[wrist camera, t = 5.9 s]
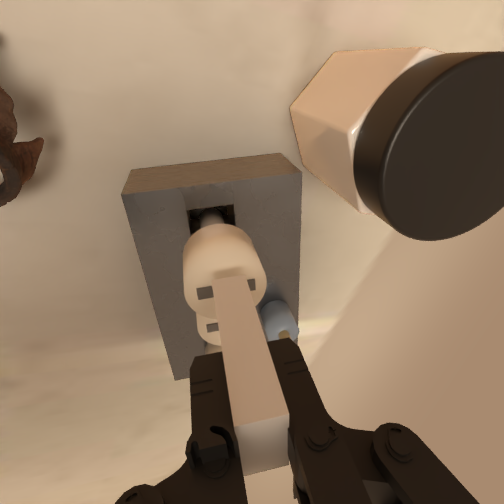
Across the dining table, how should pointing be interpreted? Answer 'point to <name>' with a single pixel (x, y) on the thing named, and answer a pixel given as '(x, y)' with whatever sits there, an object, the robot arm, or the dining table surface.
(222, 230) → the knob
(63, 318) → the dining table surface
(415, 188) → the jar
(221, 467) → the robot arm
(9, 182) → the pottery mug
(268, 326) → the potentiometer
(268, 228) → the panel
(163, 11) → the dining table surface
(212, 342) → the knob middle
